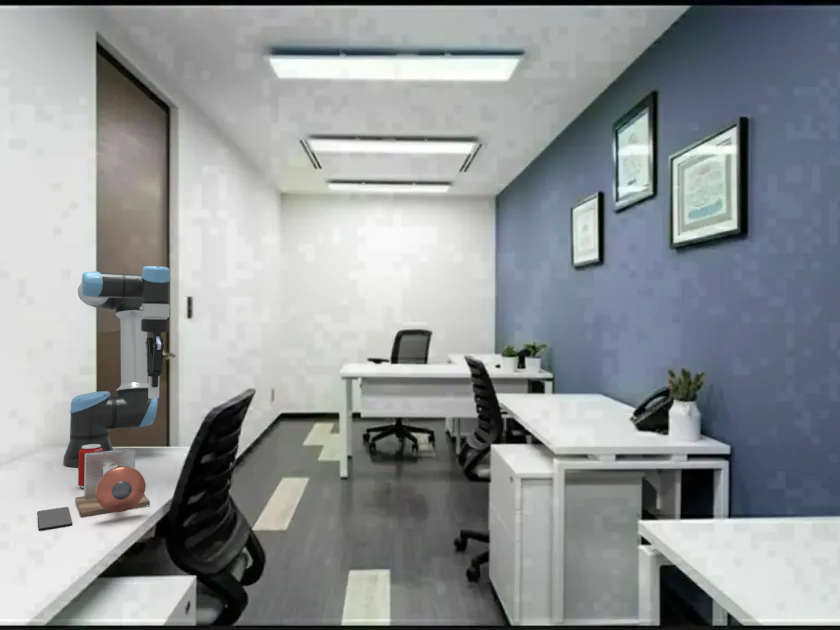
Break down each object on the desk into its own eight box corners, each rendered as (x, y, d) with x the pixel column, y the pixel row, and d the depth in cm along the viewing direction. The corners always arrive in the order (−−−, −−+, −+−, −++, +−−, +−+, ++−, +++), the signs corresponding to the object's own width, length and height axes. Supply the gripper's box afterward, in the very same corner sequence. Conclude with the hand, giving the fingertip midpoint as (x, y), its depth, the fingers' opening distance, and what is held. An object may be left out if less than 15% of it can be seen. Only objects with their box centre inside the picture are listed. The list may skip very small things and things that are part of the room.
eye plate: (83, 501, 157) (84, 453, 157) (132, 493, 164) (133, 448, 164) (85, 504, 155) (86, 455, 155) (134, 496, 162) (135, 450, 162)
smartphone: (68, 506, 152) (72, 523, 140) (68, 509, 152) (72, 527, 140) (36, 510, 148) (38, 528, 136) (36, 514, 148) (38, 532, 136)
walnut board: (75, 501, 157) (75, 497, 157) (139, 492, 166) (139, 487, 166) (80, 517, 145) (81, 512, 145) (149, 506, 155) (149, 501, 155)
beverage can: (91, 490, 166) (92, 449, 166) (72, 488, 168) (73, 447, 168) (107, 484, 173) (108, 444, 172) (89, 482, 174) (90, 442, 174)
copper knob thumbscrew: (88, 498, 153) (89, 457, 153) (134, 492, 160) (134, 452, 160) (96, 516, 140) (97, 471, 140) (145, 508, 147) (146, 465, 147)
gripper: (137, 317, 174) (135, 395, 175) (146, 318, 164) (144, 401, 164) (163, 318, 179) (162, 394, 179) (174, 319, 168) (172, 399, 168)
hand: (153, 397), depth 171 cm, fingers closed
